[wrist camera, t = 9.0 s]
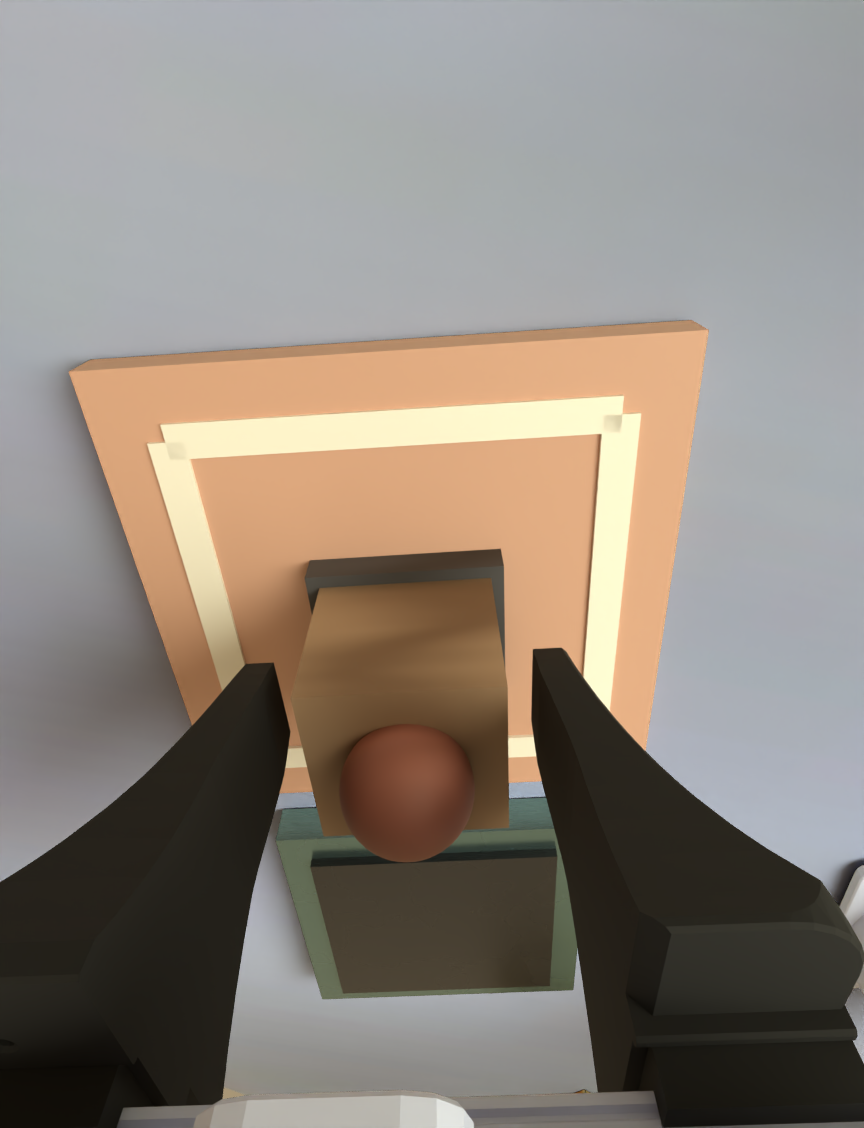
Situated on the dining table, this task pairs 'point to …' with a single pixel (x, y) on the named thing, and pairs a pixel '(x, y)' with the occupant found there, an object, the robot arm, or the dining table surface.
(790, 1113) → the robot arm
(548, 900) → the ink pad
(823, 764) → the dining table surface
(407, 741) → the walnut stamp
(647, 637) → the marked board
